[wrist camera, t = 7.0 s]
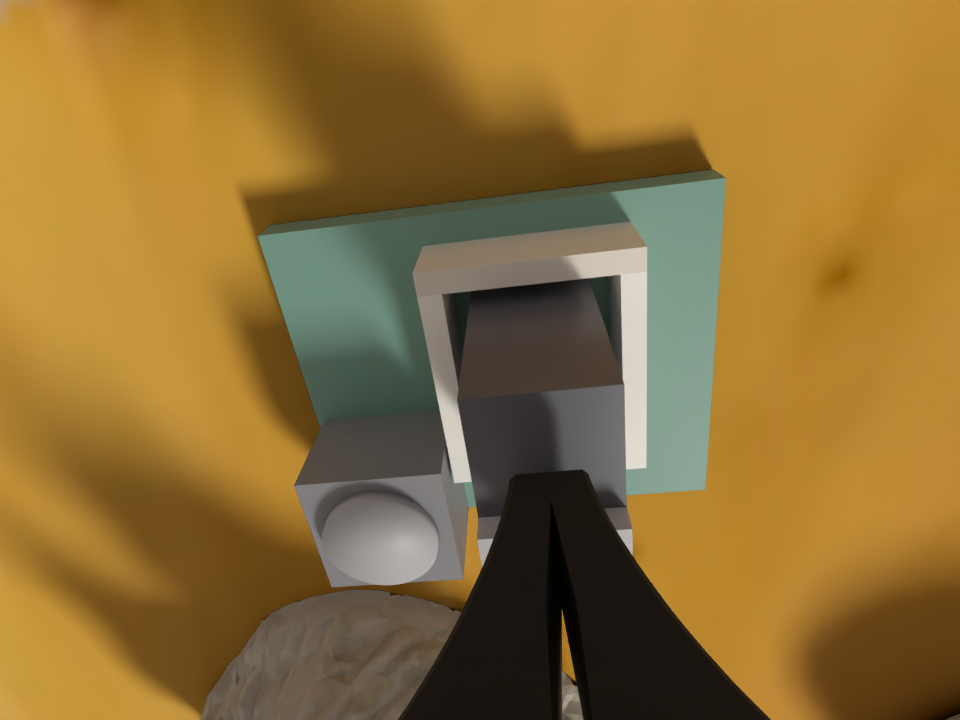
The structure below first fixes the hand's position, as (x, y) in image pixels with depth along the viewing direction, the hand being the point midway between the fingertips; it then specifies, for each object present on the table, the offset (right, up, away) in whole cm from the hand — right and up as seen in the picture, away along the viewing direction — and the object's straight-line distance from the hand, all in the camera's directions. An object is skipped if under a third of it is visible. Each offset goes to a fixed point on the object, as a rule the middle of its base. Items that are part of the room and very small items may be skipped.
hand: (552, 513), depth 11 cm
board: (-1, +3, +7) cm, 8 cm away
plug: (0, +3, +6) cm, 7 cm away
